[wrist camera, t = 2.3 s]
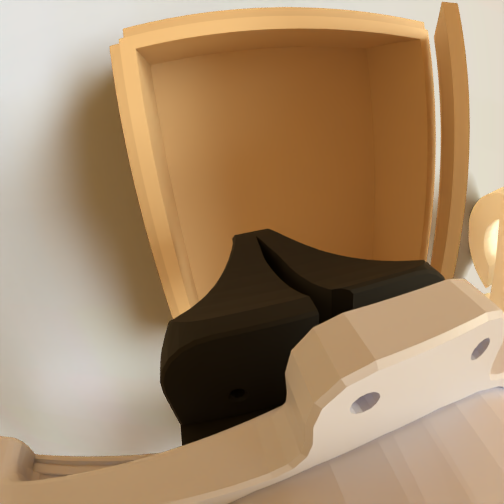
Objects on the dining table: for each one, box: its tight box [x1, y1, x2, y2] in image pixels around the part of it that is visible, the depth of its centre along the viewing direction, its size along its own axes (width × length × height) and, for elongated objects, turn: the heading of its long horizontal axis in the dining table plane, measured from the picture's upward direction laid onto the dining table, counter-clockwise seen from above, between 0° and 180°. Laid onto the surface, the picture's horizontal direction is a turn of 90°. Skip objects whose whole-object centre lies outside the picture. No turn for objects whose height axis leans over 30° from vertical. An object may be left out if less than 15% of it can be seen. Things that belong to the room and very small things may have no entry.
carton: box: [110, 7, 436, 319], centre depth 17 cm, size 19×14×6 cm
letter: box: [468, 187, 504, 313], centre depth 23 cm, size 22×2×10 cm, turn 18°
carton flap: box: [431, 2, 470, 280], centre depth 12 cm, size 17×7×1 cm
